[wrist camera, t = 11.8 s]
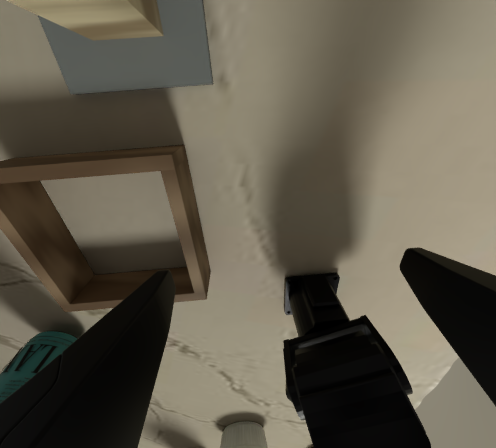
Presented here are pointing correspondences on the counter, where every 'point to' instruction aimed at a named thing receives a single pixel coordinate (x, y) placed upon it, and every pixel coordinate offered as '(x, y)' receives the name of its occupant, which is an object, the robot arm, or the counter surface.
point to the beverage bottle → (32, 360)
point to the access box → (62, 243)
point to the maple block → (100, 17)
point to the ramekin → (243, 436)
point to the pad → (137, 54)
